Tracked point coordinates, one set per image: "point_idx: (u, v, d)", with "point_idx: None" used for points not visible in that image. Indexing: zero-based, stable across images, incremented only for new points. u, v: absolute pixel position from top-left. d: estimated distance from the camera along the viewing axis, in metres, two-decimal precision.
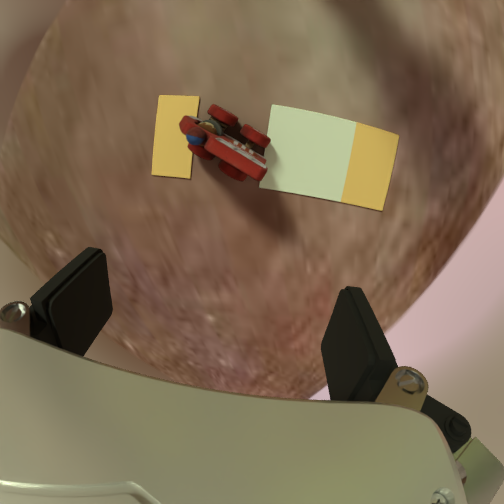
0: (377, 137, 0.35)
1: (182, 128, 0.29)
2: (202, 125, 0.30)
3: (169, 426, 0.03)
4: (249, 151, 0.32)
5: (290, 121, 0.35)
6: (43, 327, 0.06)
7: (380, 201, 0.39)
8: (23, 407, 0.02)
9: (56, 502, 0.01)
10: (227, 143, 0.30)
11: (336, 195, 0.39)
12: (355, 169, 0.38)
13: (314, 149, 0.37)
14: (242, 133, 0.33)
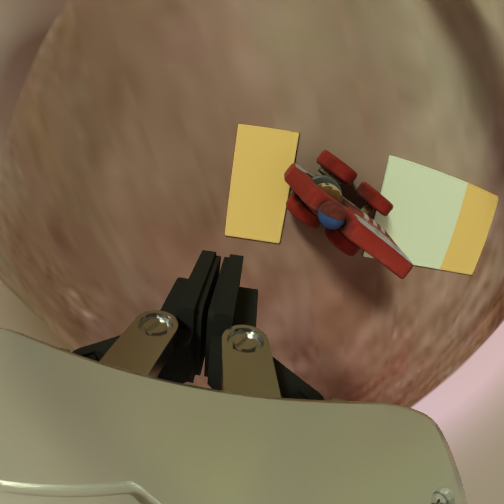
0: (482, 199, 0.27)
1: (305, 196, 0.21)
2: (329, 190, 0.22)
3: (169, 426, 0.03)
4: (381, 229, 0.23)
5: (407, 178, 0.27)
6: (190, 335, 0.08)
7: (472, 265, 0.31)
8: (23, 407, 0.02)
9: (56, 502, 0.01)
10: (364, 222, 0.22)
11: (437, 262, 0.31)
12: (458, 234, 0.29)
13: (426, 213, 0.28)
14: (364, 197, 0.25)
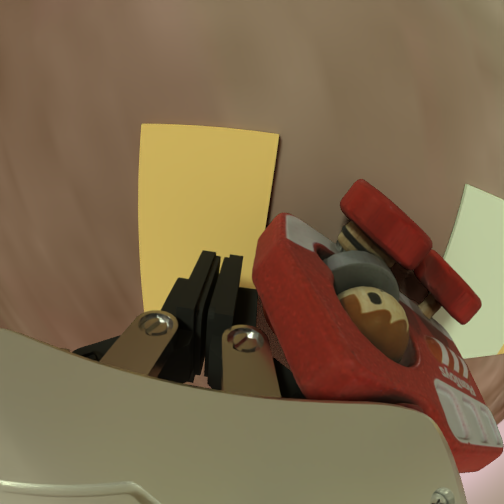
0: None
1: (309, 378, 0.06)
2: (381, 328, 0.07)
3: (169, 426, 0.03)
4: (463, 371, 0.08)
5: (488, 229, 0.12)
6: (190, 335, 0.08)
7: None
8: (23, 407, 0.02)
9: (56, 502, 0.01)
10: (447, 392, 0.07)
11: (496, 347, 0.16)
12: None
13: (502, 283, 0.13)
14: (438, 295, 0.10)
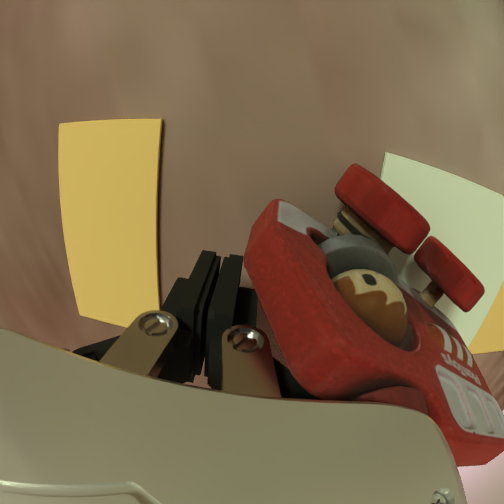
0: None
1: (300, 359, 0.06)
2: (377, 310, 0.06)
3: (169, 426, 0.03)
4: (467, 359, 0.08)
5: (426, 206, 0.12)
6: (190, 335, 0.08)
7: None
8: (23, 407, 0.02)
9: (56, 502, 0.01)
10: (450, 379, 0.06)
11: None
12: (502, 300, 0.14)
13: None
14: (439, 281, 0.10)
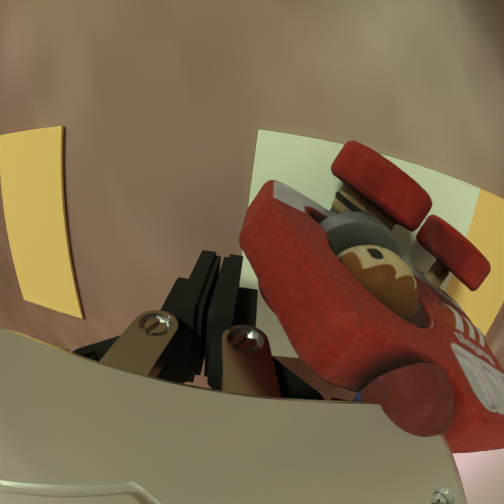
0: None
1: (307, 340, 0.05)
2: (386, 284, 0.06)
3: (169, 426, 0.03)
4: (479, 339, 0.08)
5: (317, 185, 0.12)
6: (190, 335, 0.08)
7: None
8: (23, 407, 0.02)
9: (56, 502, 0.01)
10: (466, 358, 0.06)
11: None
12: (453, 298, 0.14)
13: None
14: (444, 258, 0.09)
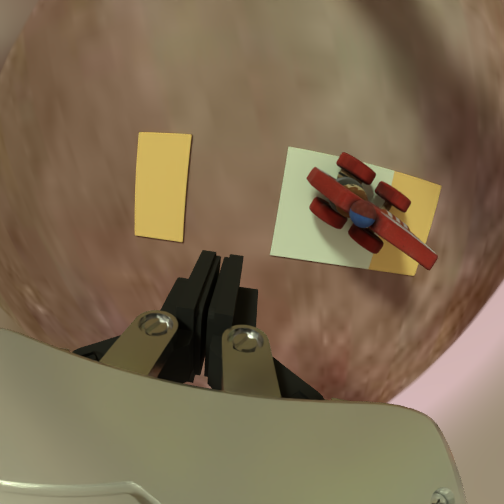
0: (417, 189, 0.28)
1: (336, 198, 0.21)
2: (355, 191, 0.22)
3: (169, 426, 0.03)
4: (404, 225, 0.24)
5: None
6: (190, 335, 0.08)
7: (413, 265, 0.32)
8: (23, 407, 0.02)
9: (56, 502, 0.01)
10: (390, 219, 0.22)
11: (364, 262, 0.32)
12: None
13: None
14: (384, 196, 0.25)
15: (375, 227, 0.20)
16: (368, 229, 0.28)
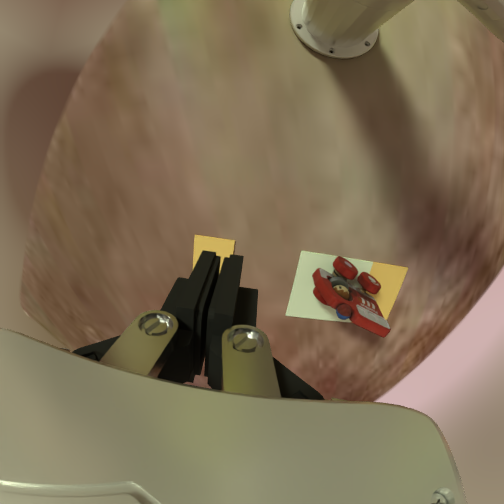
0: (389, 272, 0.43)
1: (329, 301, 0.36)
2: (341, 293, 0.37)
3: (169, 426, 0.03)
4: (372, 306, 0.39)
5: (316, 265, 0.43)
6: (190, 335, 0.08)
7: None
8: (23, 407, 0.02)
9: (56, 502, 0.01)
10: (361, 308, 0.37)
11: (348, 318, 0.47)
12: None
13: None
14: (362, 285, 0.40)
15: (350, 318, 0.35)
16: None
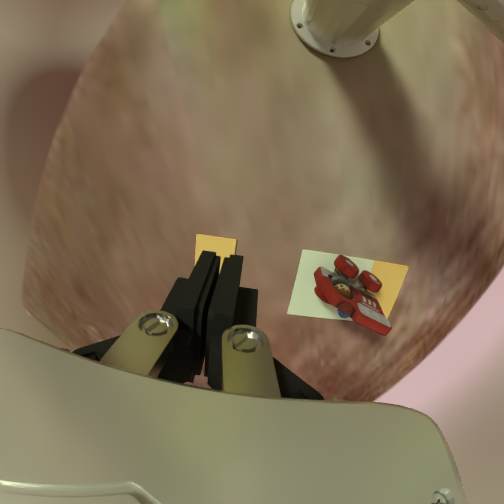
0: (390, 270, 0.43)
1: (330, 300, 0.36)
2: (342, 291, 0.37)
3: (169, 426, 0.03)
4: (373, 305, 0.39)
5: (317, 264, 0.43)
6: (190, 335, 0.08)
7: None
8: (23, 407, 0.02)
9: (56, 502, 0.01)
10: (363, 307, 0.37)
11: None
12: None
13: None
14: (363, 284, 0.40)
15: (352, 316, 0.35)
16: None
